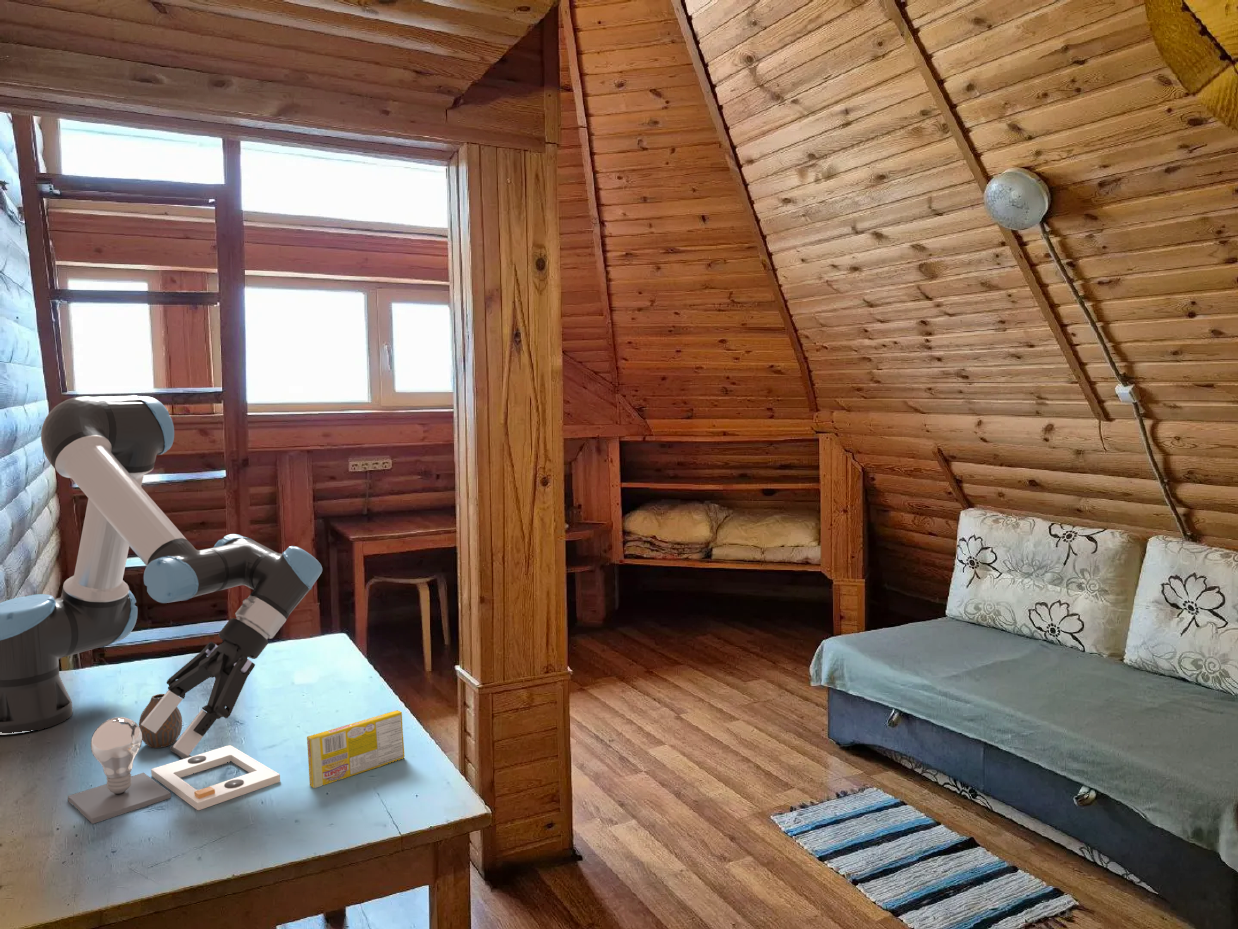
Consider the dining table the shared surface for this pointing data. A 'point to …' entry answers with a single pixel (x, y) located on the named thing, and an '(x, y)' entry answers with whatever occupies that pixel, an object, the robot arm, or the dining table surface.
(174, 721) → the vase
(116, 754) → the light bulb
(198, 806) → the white square frame
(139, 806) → the felt pad
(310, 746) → the candy box
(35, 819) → the dining table surface
